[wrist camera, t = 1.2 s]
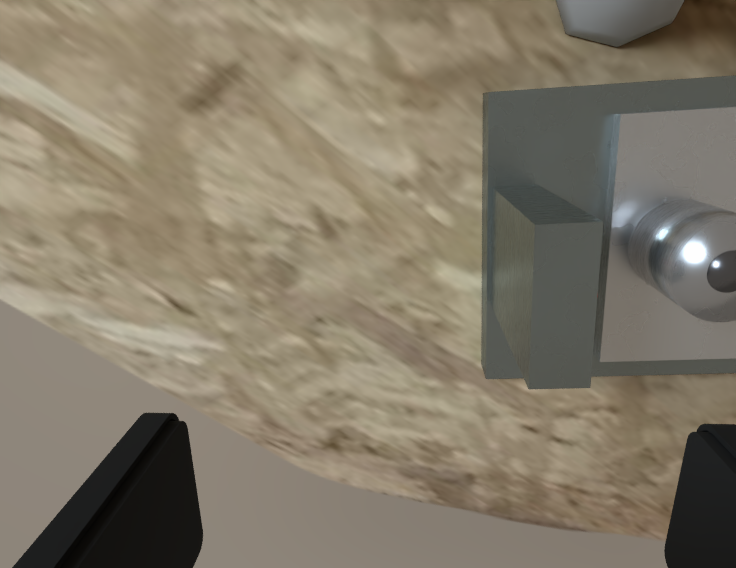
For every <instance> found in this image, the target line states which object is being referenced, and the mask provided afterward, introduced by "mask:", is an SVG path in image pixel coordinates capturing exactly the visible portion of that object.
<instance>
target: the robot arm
mask: <svg viewBox="0 0 736 568" xmlns="http://www.w3.org/2000/svg"><path fill="white" fill-rule="evenodd" d="M202 541H203V529H202V523H201V516H200V509H199V503H198V496H197V489H196V482H195V475H194V468H193V462H192V455H191V448H190V442H189V435H188V428H187V425H186V423H185V422H184V421H179V419H178V417H177V415H176V414H174V413H144V414H142V415H141V416H140V417H139V418H138V420H137V421H136V422H135V423H134V424H133V426H132V427H131V428H130V429H129V430H128V431H127V433H126V434H125V435H124V436H123V437H122V439H121V440H120V441H119V442H118V443H117V444H116V446H115V447H114V448H113V449H112V450H111V452H110V453H109V454H108V455H107V456H106V457H105V459H104V460H103V461H102V462H101V463H100V465H99V466H98V467H97V468H96V469H95V471H94V472H93V473H92V474H91V475H90V476H89V478H88V479H87V480H86V481H85V482H84V483H83V485H82V486H81V487H80V488H79V490H78V491H77V492H76V493H75V494H74V495H73V497H72V498H71V499H70V500H69V501H68V502H67V504H66V505H65V506H64V507H63V508H62V509H61V511H60V512H59V513H58V514H57V515H56V517H55V518H54V519H53V520H52V521H51V523H50V524H49V525H48V526H47V527H46V528H45V530H44V531H43V532H42V533H41V534H40V536H39V537H38V538H37V539H36V540H35V542H34V543H33V544H32V545H31V546H30V547H29V549H28V550H27V551H26V552H25V553H24V554H23V556H22V557H21V558H20V559H19V560H18V562H17V563H16V564H15V565H14V566H13V567H12V568H193V566H194V564H195V562H196V559H197V557H198V555H199V553H200V550H201V546H202ZM665 559H666V563H667V566H668V568H736V425H735V424H703V425H700V426H699V428H698V429H697V432H692V433H690V434H689V436H688V439H687V443H686V448H685V452H684V457H683V462H682V467H681V472H680V476H679V481H678V486H677V491H676V496H675V500H674V505H673V510H672V515H671V520H670V524H669V529H668V534H667V539H666V544H665Z"/></svg>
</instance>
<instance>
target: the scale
mask: <svg viewBox="0 0 736 568" xmlns="http://www.w3.org/2000/svg"><path fill="white" fill-rule="evenodd" d="M676 199H691V200H696V201H700V202H703V203H706V204H709V205H713V206H716V207H719V208H722V209H725V210H729V211H732V212H735V213H736V76H722V77H707V78H693V79H678V80H663V81H648V82H633V83H619V84H604V85H589V86H574V87H559V88H545V89H530V90H515V91H500V92H487V93H483V188H482V359H481V365H482V368H483V371H484V374H485V378H486V379H510V378H524V380H525V382H526V384H527V387H528V389H559V388H590V384H591V377H592V376H633V375H674V374H715V373H736V320H735V321H730V322H710V321H705V320H702V319H699V318H697V317H695V316H693V315H691V314H690V313H688V312H687V311H685V310H684V309H683V308H681V307H680V306H678V305H677V304H676V303H674V302H673V301H671V300H670V299H669V298H667V297H666V296H664V295H663V294H662V293H660V292H659V291H657V290H656V289H655V288H653V287H652V286H650V285H649V284H648V283H646V282H645V281H643V280H642V279H641V278H640V277H639V276H638V275H637V274H636V273H635V271H634V270H633V268H632V266H631V264H630V260H629V255H628V246H629V240H630V237H631V234H632V232H633V230H634V228H635V226H636V225H637V223H638V222H639V221H640V219H641V218H642V217H643V216H644V215H645V214H646V213H648V212H649V211H650V210H652V209H653V208H655V207H656V206H658V205H660V204H662V203H665V202H668V201H671V200H676Z"/></svg>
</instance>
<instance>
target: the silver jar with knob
mask: <svg viewBox="0 0 736 568" xmlns="http://www.w3.org/2000/svg"><path fill="white" fill-rule="evenodd" d="M628 255H629V260H630V264H631V266H632V268H633V270H634V271H635V273H636V274H637V275H638V276H639V277H640V278H641V279H642V280H643V281H645V282H646V283H648V284H649V285H650V286H652V287H653V288H655V289H656V290H657V291H659V292H660V293H662V294H663V295H664V296H666V297H667V298H669V299H670V300H671V301H673V302H674V303H676V304H677V305H678V306H680V307H681V308H683V309H684V310H685V311H687V312H688V313H690V314H691V315H693V316H695V317H697V318H699V319H702V320H705V321H710V322H730V321H735V320H736V213H735V212H732V211H729V210H725V209H722V208H719V207H716V206H713V205H709V204H706V203H703V202H700V201H696V200H691V199H676V200H671V201H668V202H665V203H662V204H660V205H658V206H656V207H655V208H653V209H652V210H650V211H649V212H648V213H646V214H645V215H644V216H643V217H642V218H641V219H640V221H639V222H638V223H637V225H636V226H635V228H634V230H633V232H632V234H631V237H630V240H629V246H628Z"/></svg>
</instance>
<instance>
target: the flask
mask: <svg viewBox="0 0 736 568" xmlns="http://www.w3.org/2000/svg"><path fill="white" fill-rule="evenodd" d="M556 2H557V5H558V9H559V12H560V16H561V19H562V22H563V26H564V29H565V33H566V34H568V35H572V36H576V37H580V38H584V39H588V40H591V41H595V42H599V43H603V44H607V45H611V46H615V47H619V46H621V45H623V44H625V43H628V42H630V41H632V40H635V39H637V38H639V37H641V36H644V35H646V34H648V33H651V32H653V31H655V30H657V29H660V28H662V27H664V26H667V25H669V24H671V23H672V22H673V20H674V18H675V17H676V15H677V13H678V11H679V10H680V8H681V6H682V4H683V2H684V0H556Z"/></svg>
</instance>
